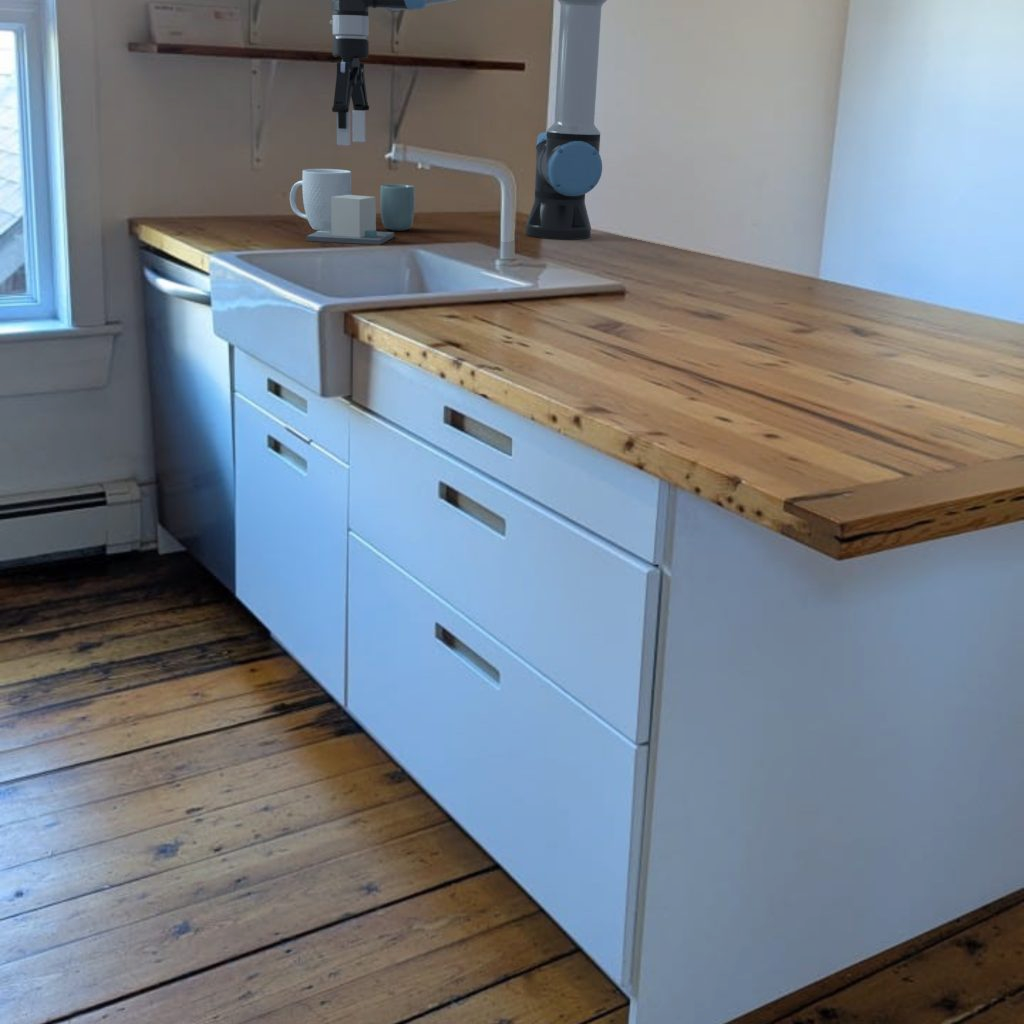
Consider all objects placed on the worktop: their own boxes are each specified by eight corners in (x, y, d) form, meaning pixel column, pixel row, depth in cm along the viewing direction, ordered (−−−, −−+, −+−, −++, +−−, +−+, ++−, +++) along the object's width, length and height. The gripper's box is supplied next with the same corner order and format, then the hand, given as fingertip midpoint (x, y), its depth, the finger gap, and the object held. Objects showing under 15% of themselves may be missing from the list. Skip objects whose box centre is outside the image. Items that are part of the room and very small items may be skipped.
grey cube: (342, 231, 291) (342, 194, 289) (381, 234, 288) (381, 197, 285) (325, 234, 285) (325, 196, 283) (365, 238, 282) (365, 199, 279)
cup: (375, 230, 303) (375, 185, 300) (388, 227, 310) (388, 183, 307) (406, 232, 301) (407, 188, 298) (418, 229, 308) (419, 185, 305)
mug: (279, 228, 299) (278, 169, 295) (302, 224, 309) (301, 166, 305) (338, 233, 295) (337, 173, 290) (360, 229, 304) (360, 170, 300)
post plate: (393, 236, 293) (394, 204, 291) (379, 244, 280) (380, 211, 278) (323, 233, 295) (323, 201, 292) (306, 240, 282) (306, 207, 279)
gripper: (347, 38, 286) (348, 139, 293) (316, 35, 263) (318, 146, 269) (381, 39, 285) (381, 140, 292) (353, 36, 262) (354, 147, 269)
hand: (351, 143), depth 281 cm, fingers open, 13 cm apart
